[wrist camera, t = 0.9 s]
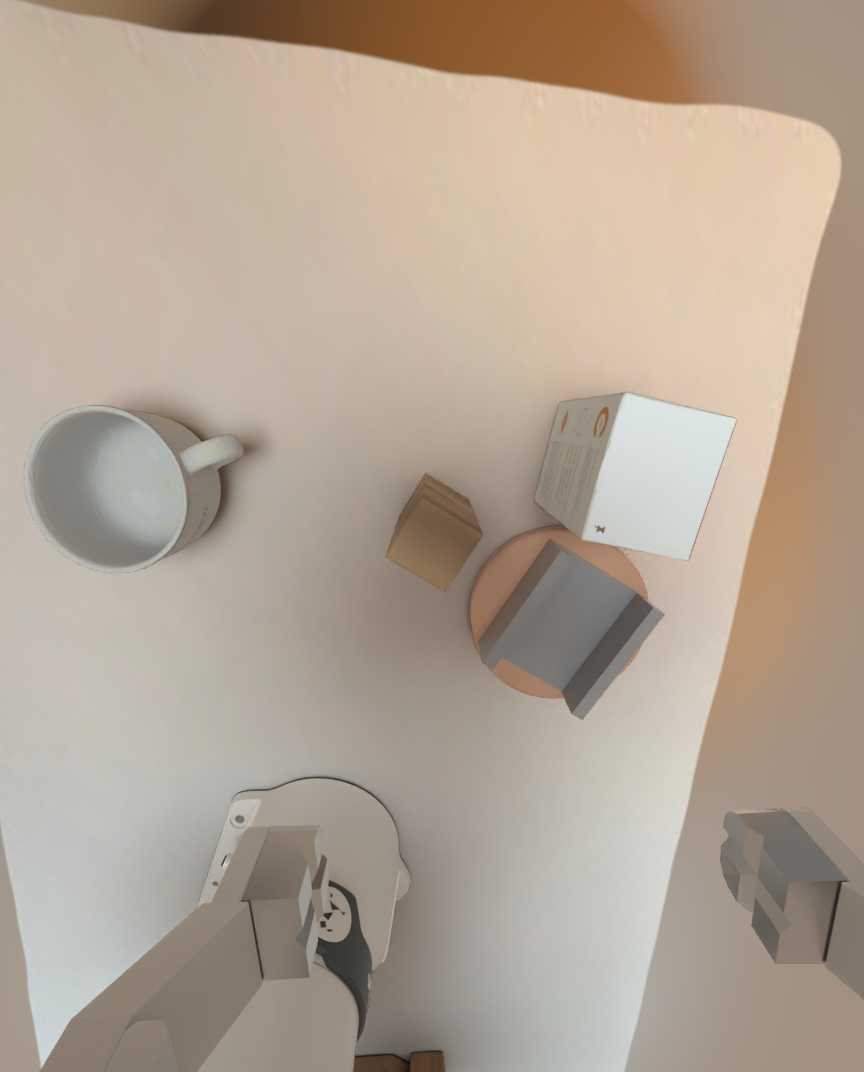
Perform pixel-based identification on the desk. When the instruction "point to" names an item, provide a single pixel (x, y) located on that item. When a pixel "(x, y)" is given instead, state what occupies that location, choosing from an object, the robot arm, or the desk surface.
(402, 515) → the wood grain beam
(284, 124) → the desk surface
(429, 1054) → the brown wooden block assembly
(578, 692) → the round base with bracket
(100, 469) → the teacup
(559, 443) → the small box
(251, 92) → the desk surface
